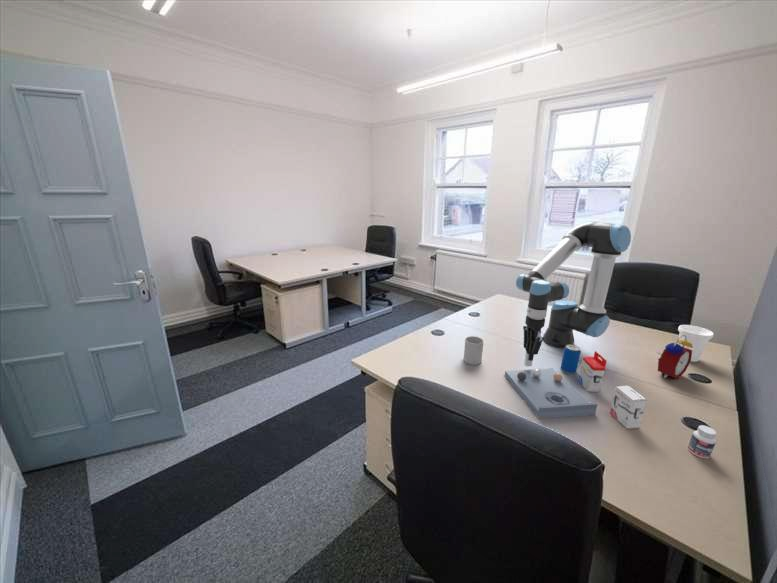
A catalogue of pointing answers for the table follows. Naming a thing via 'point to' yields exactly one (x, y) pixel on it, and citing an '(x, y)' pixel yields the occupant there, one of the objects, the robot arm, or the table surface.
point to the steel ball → (536, 373)
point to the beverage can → (570, 359)
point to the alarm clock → (675, 358)
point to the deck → (550, 395)
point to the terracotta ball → (558, 377)
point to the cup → (695, 339)
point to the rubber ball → (521, 376)
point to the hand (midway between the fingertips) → (527, 365)
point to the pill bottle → (702, 441)
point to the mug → (473, 350)
